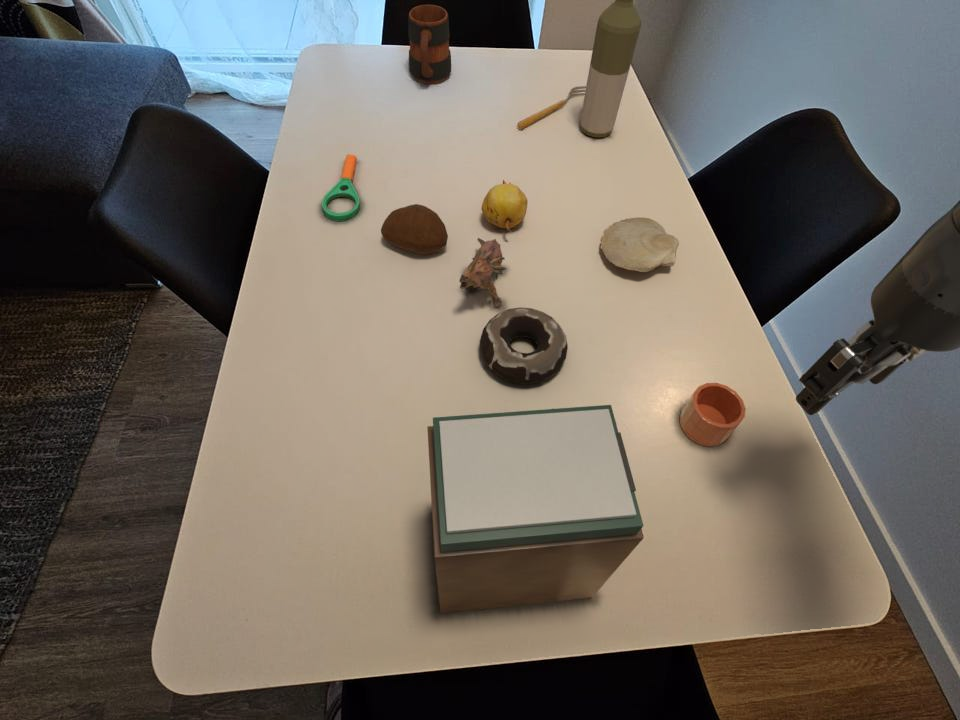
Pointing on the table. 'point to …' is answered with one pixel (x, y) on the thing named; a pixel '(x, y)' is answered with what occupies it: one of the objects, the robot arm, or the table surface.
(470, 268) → the dinosaur figurine
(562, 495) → the scale
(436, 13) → the mug
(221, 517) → the table surface
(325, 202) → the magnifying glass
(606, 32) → the bottle
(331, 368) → the table surface
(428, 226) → the potato
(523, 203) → the fruit
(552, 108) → the fork
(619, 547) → the stand
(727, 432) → the bowl
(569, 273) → the table surface
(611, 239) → the seashell
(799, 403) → the robot arm
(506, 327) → the donut
